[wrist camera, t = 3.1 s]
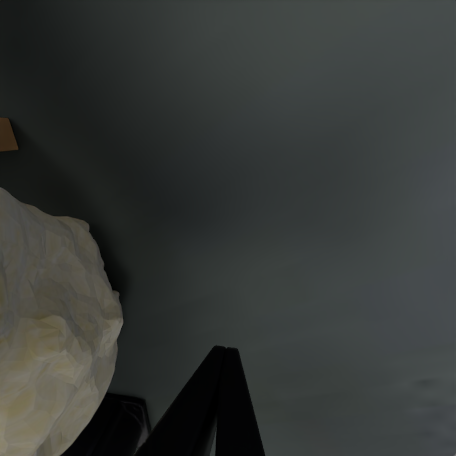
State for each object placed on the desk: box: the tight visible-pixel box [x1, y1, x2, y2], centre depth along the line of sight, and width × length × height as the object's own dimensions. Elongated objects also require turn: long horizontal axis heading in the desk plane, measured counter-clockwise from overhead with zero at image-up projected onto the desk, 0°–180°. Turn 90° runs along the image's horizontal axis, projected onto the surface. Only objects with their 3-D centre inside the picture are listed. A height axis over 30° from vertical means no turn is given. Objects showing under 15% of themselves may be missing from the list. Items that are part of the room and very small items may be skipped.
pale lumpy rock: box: [0, 187, 123, 456], centre depth 13 cm, size 15×7×15 cm
